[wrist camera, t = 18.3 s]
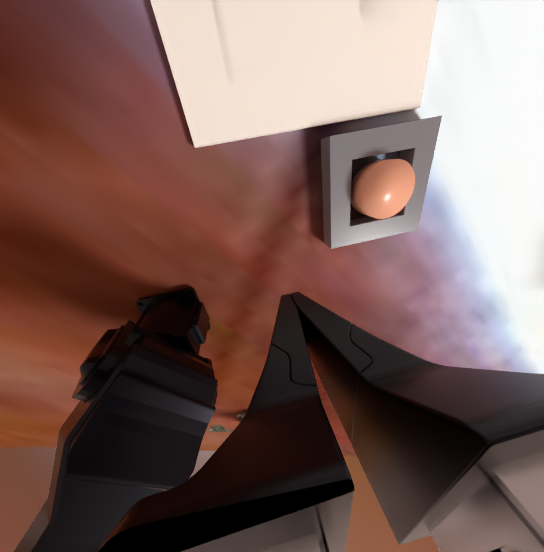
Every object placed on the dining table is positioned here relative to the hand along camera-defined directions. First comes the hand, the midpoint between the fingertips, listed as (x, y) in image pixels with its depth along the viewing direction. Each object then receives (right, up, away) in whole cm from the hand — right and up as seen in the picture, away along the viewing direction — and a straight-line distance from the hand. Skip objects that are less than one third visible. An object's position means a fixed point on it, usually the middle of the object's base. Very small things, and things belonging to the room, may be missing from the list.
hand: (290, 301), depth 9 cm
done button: (+9, +10, +10) cm, 17 cm away
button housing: (+9, +10, +11) cm, 18 cm away
